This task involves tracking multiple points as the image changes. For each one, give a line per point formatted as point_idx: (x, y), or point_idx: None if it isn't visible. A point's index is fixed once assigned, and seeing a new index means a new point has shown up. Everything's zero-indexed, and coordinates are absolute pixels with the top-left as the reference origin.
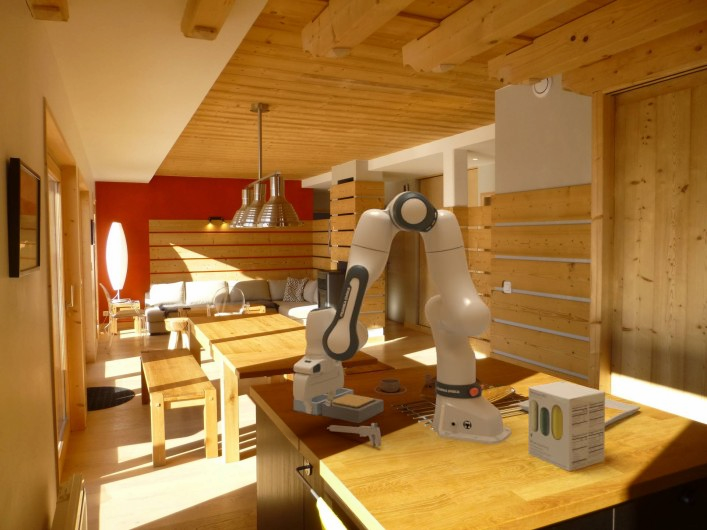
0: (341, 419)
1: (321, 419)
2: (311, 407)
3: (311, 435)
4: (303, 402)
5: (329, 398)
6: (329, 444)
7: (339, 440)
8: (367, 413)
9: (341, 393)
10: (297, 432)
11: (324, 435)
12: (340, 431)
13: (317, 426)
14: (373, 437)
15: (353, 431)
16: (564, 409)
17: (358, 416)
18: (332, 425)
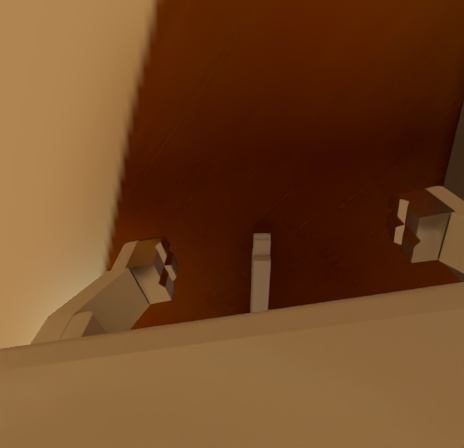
0: (455, 152)
1: (415, 29)
2: (143, 305)
3: (168, 212)
4: (57, 312)
5: (455, 239)
6: (168, 311)
7: (219, 308)
8: None
9: None
10: (132, 131)
11: (213, 247)
12: (250, 307)
13: (281, 131)
14: None
15: None
16: None
17: (451, 270)
18: (264, 268)
